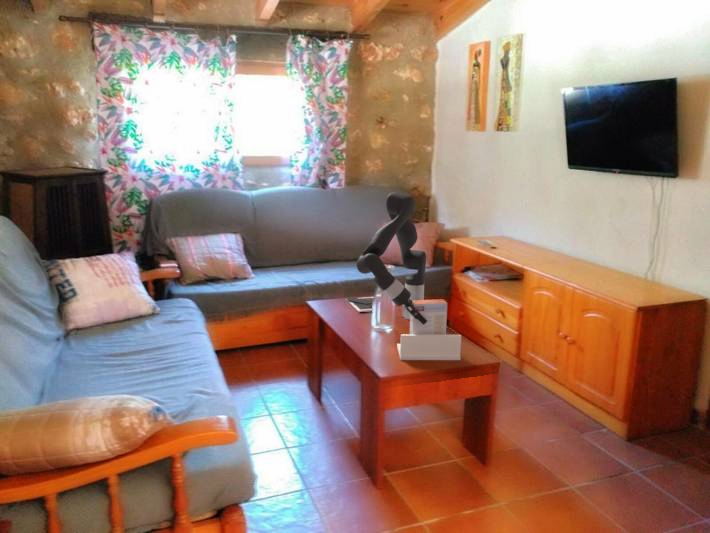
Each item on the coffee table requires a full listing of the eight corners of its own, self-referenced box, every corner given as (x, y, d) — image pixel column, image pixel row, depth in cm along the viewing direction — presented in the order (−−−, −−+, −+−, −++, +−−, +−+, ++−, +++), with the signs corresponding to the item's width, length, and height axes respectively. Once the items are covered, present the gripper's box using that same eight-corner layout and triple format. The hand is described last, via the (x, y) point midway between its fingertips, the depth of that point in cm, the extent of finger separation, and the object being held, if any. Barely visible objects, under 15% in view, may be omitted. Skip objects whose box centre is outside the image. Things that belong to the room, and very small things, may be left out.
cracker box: (441, 346, 243) (443, 298, 238) (445, 351, 238) (448, 302, 233) (408, 347, 241) (410, 299, 236) (411, 353, 235) (414, 303, 231)
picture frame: (345, 302, 308) (358, 314, 289) (345, 297, 307) (358, 309, 288) (373, 300, 313) (387, 312, 294) (373, 295, 312) (388, 306, 293)
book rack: (397, 346, 246) (397, 324, 244) (453, 347, 247) (454, 324, 245) (400, 360, 233) (401, 336, 230) (460, 360, 233) (461, 336, 231)
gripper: (405, 290, 226) (433, 319, 229) (401, 281, 239) (428, 307, 243) (391, 303, 227) (419, 331, 230) (388, 293, 241) (414, 319, 244)
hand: (423, 319), depth 236 cm, fingers open, 8 cm apart
